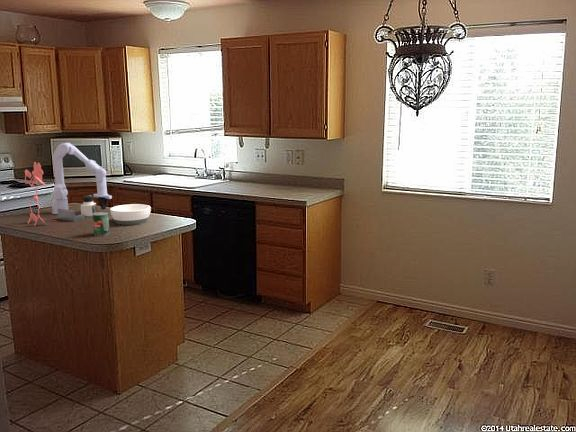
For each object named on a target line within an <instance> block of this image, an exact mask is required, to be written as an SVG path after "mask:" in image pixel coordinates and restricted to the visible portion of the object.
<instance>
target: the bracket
mask: <svg viewBox="0 0 576 432" xmlns="http://www.w3.org/2000/svg"><path fill="white" fill-rule="evenodd" d="M57 210H58V214H57V219H58V220H62V221H66V222H67V221H69V222H74V223H75V222H77V221H81V220H85V219H86V216H85V215H84V214H82V215H81V214H78V215H77V214H76V212H77V211H76V210H71V209H70V210H69V209H68V210H65V209H57Z"/></svg>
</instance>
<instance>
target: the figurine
mask: <svg viewBox="0 0 576 432" xmlns="http://www.w3.org/2000/svg"><path fill="white" fill-rule="evenodd" d="M24 174H25V176H24V184H26V185H27V184H29V186H30V187H31V188H33V187H35V188H36V192H35V193H36V194H35V195H34V196H33V197H32V200H30V201H29V202H28V206H29V208H30V213H29V216H30V217H29V219H28V221H27V224H30V223H31V222H30V221H31V220H33V221H34V222H35V223H34V225H33V226H34V227H35V226H36V224H37V223H38V220H39V219H40V220H41V222H43V223H44V224H45V225H47V222H46V219H45V218H44V219H43V218H42V217H41V216H40V207H39V205H37V212H38V214H37V215H36V214H34V213H33V211H32V207H31V204H30V203H31V202H33V201H36V202H37V204H39V197H38V190H39V189H38V185H37V184H38V183H39V184H40V185H41V184H42V185H43V186H47V184H46V183H44V181H43V175H44V171H43V169H42V166H41V164H40V162H36V161H34V162H33V170H32V172H30V171H29V170H28V169H25V170H24ZM27 177H28V178H29V179H30V180H29V181H28V182H27ZM31 182H32V183H31ZM34 183H35V184H36V185H37V186H36V185H35V184H34ZM44 220H45V221H44ZM47 221H51V219H48V218H47ZM53 221H55V222H56V220H55V219H54V220H53Z"/></svg>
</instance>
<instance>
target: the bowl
mask: <svg viewBox="0 0 576 432" xmlns="http://www.w3.org/2000/svg"><path fill="white" fill-rule="evenodd" d="M151 211H152V207H151V206H150V205H148V204H141V203H130V204H121V205H114V206H113V207H112V206H111V207H110V209H109V212H110V216H111V218H112V219H113V221H114V222H115V224H117V225H120V224H122V225H123V226H131V225H134V226H135V225H140V224H144V223H146V222H147V221H148V219H149V217H150V214H151ZM122 225H121V226H122Z"/></svg>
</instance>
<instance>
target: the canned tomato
mask: <svg viewBox="0 0 576 432" xmlns="http://www.w3.org/2000/svg"><path fill="white" fill-rule="evenodd" d="M92 215H93V216H92V225H93V226H92V227H93V235H94V236H96V235H97V236H98V237H101V236H102V235H103V236H108V235H110V232H111V231H110V221H109V220H110V219H109V212H108V211H97V212H96V213H93V214H92ZM103 236H102V237H103Z"/></svg>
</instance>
